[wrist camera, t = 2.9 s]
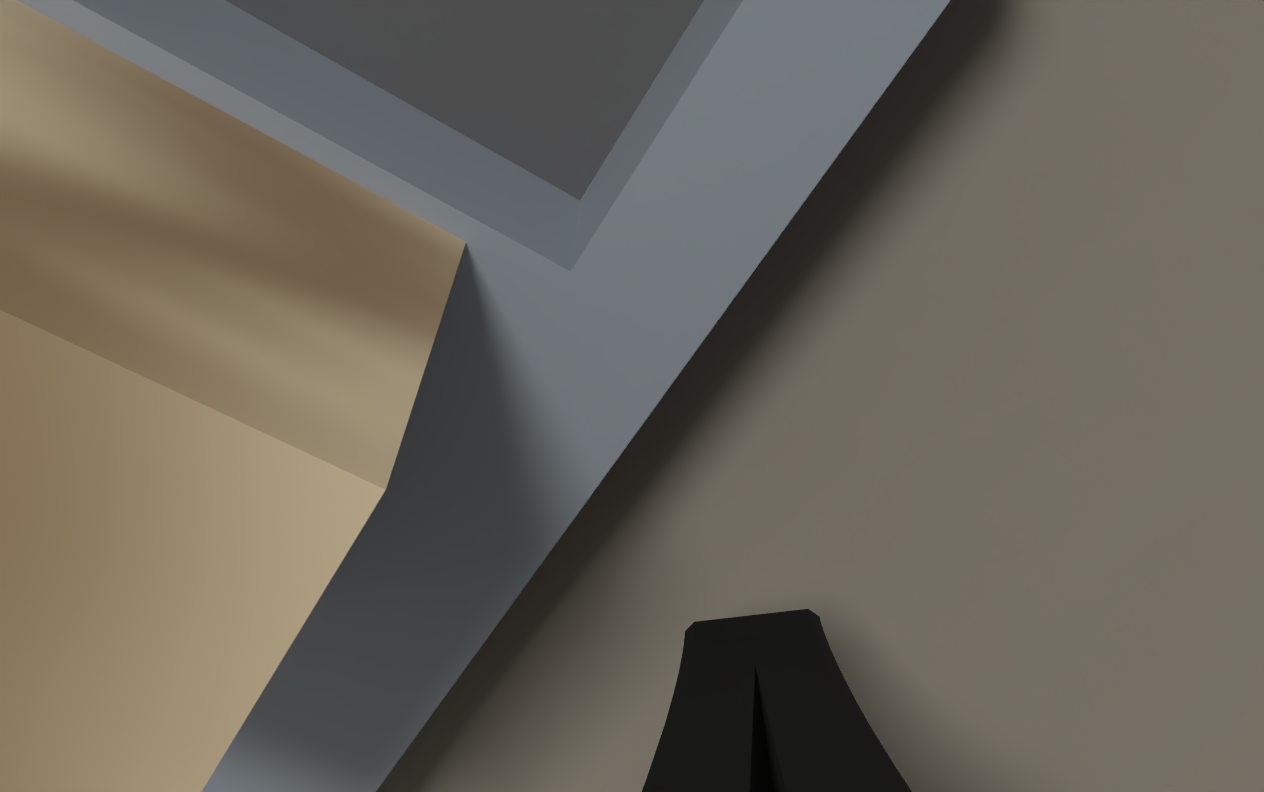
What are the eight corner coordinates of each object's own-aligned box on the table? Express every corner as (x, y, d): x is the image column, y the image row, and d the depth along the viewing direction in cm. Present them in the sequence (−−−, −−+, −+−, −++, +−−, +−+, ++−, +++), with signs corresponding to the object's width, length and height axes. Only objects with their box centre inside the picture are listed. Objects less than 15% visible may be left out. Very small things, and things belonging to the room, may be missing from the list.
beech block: (465, 242, 11) (386, 490, 8) (267, 587, 13) (137, 896, 10) (-66, -45, 10) (-443, 101, 6) (-187, 390, 12) (-514, 669, 9)
